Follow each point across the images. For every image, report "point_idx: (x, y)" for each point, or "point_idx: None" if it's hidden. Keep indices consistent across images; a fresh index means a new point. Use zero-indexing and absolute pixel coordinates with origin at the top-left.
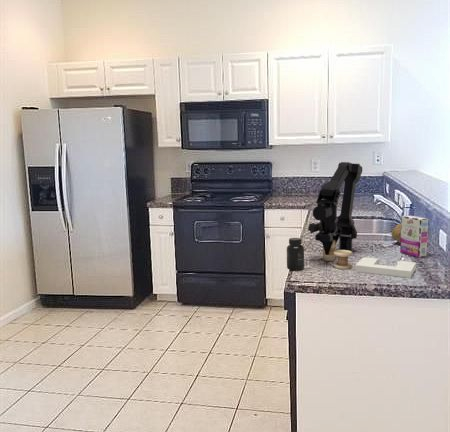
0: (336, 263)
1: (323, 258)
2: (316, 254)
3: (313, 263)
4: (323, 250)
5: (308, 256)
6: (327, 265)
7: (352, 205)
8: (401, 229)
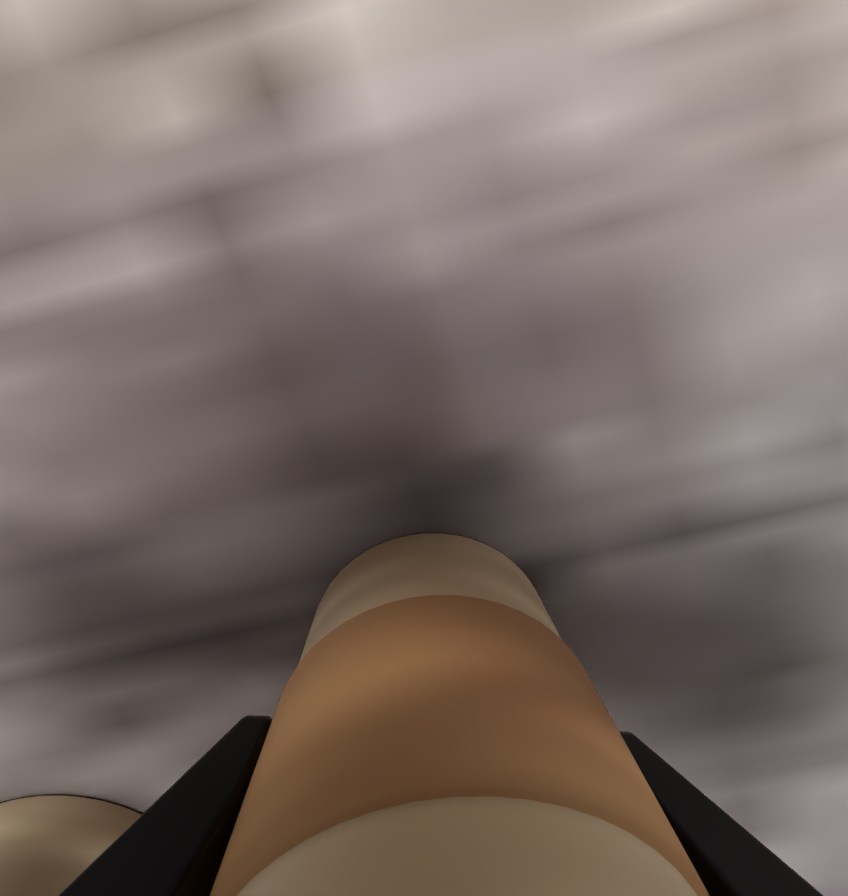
0: (34, 879)
1: (351, 573)
2: (808, 300)
3: (27, 425)
4: (305, 718)
5: (585, 154)
6: (27, 698)
7: None
8: None
